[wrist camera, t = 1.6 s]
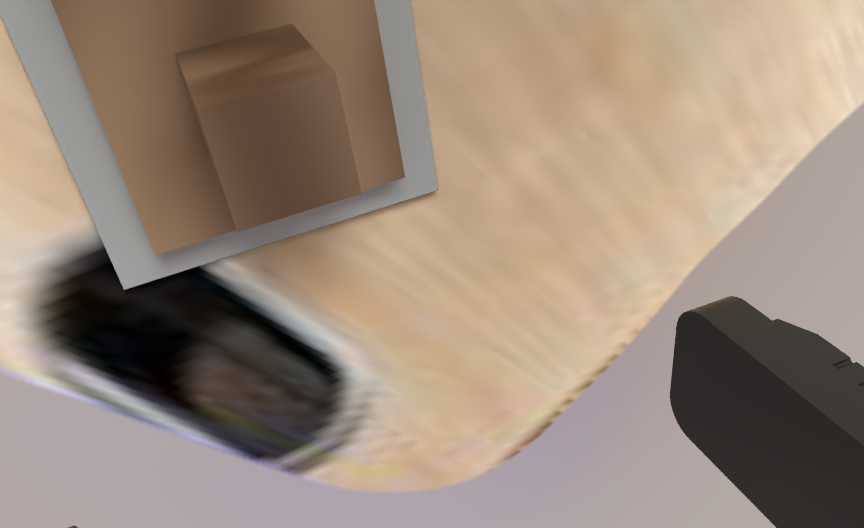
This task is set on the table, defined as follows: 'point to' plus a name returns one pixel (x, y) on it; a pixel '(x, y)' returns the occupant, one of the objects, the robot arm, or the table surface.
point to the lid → (236, 107)
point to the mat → (105, 186)
